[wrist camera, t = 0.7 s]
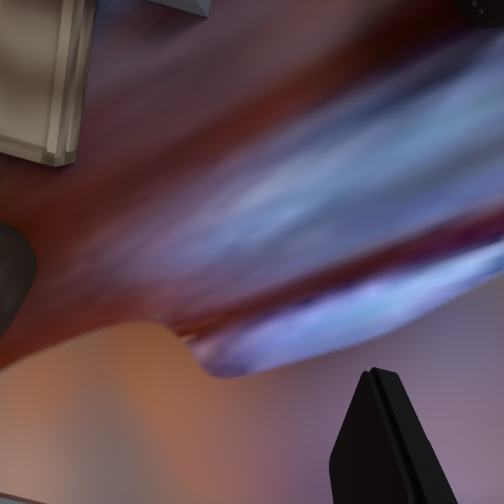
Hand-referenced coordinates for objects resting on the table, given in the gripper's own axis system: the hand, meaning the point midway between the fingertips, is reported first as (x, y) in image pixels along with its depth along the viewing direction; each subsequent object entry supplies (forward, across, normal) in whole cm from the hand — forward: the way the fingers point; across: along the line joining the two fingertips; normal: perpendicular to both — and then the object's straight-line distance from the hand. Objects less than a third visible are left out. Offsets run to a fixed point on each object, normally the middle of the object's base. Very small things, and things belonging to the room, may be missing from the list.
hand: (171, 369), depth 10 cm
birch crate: (+26, +21, -5) cm, 34 cm away
